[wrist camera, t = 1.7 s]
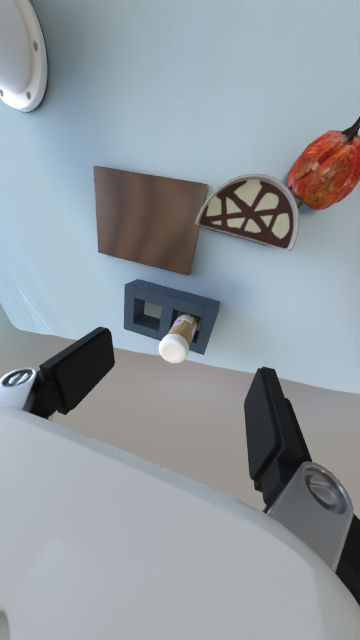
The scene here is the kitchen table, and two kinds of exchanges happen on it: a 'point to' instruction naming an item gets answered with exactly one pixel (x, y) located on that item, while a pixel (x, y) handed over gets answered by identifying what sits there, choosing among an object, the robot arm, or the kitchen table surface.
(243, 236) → the food container
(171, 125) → the kitchen table surface
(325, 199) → the pomegranate
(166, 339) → the sprinkles bottle
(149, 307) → the kitchen table surface
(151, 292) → the dark grey cinder block
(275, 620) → the robot arm
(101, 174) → the board
